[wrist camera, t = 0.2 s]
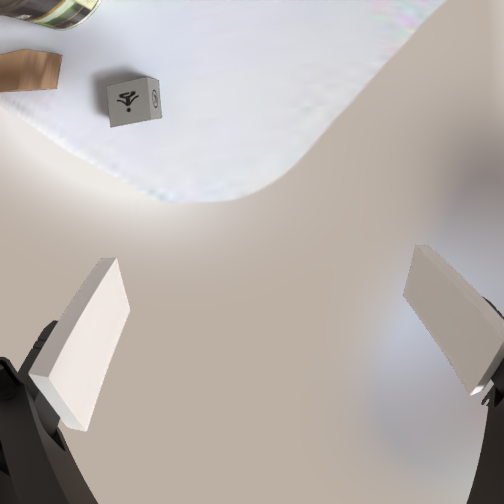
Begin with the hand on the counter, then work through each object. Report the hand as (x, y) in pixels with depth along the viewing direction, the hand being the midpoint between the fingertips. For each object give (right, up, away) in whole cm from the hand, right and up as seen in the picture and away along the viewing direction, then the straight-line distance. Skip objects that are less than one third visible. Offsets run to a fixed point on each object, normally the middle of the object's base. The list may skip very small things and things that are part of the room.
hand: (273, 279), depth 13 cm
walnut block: (-30, +26, +17) cm, 43 cm away
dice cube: (-15, +20, +21) cm, 32 cm away
